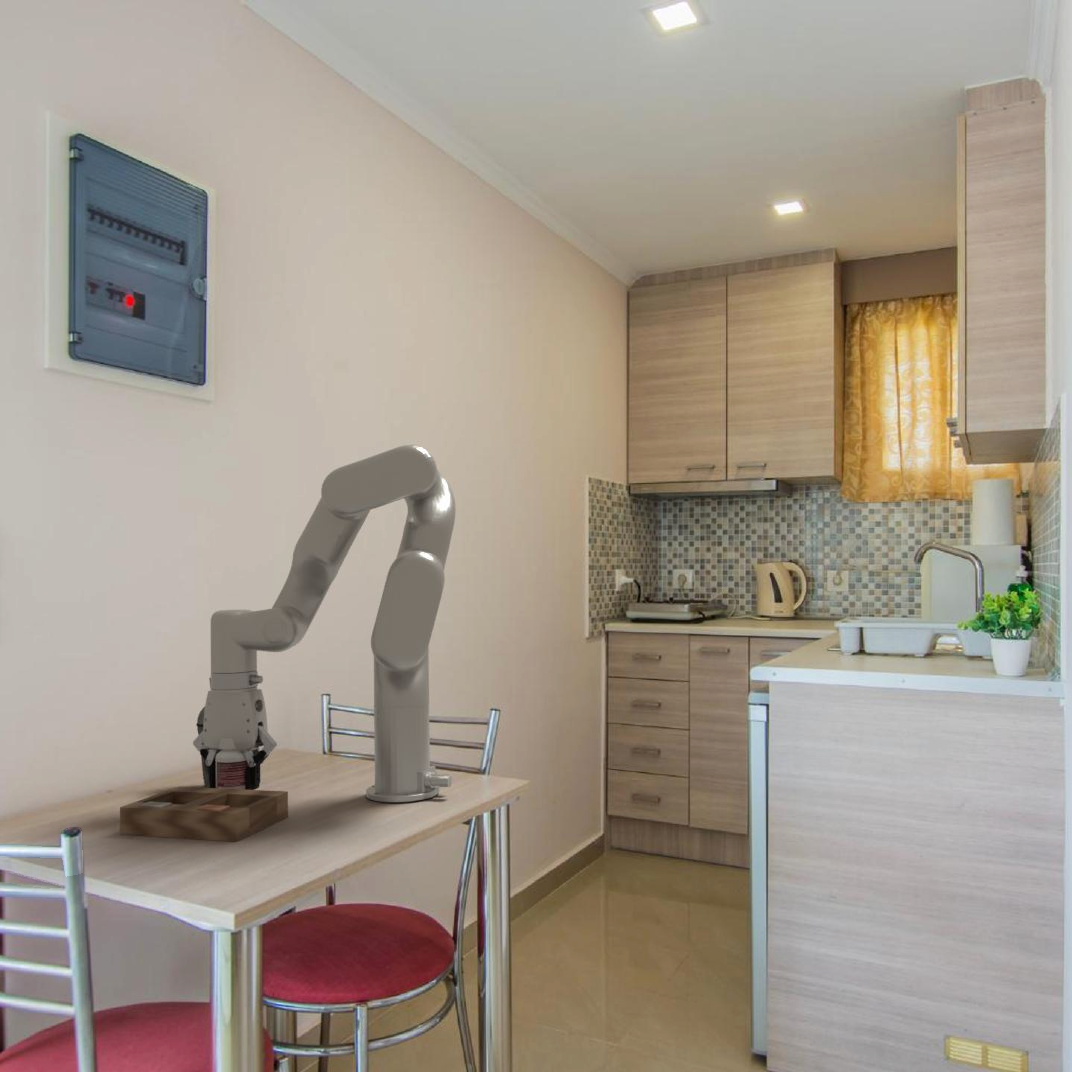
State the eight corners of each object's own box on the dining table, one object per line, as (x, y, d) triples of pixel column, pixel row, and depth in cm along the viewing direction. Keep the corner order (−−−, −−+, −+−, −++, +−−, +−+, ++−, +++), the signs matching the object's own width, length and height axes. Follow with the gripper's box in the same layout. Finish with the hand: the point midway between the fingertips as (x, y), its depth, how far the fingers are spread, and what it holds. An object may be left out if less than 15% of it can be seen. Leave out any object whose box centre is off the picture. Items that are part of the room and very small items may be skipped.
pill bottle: (258, 804, 156) (257, 736, 156) (220, 809, 152) (220, 740, 153) (247, 797, 161) (247, 731, 161) (211, 802, 157) (211, 735, 158)
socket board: (288, 817, 147) (287, 789, 147) (236, 841, 133) (236, 811, 133) (179, 811, 152) (179, 784, 152) (120, 834, 138) (120, 805, 139)
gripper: (290, 680, 159) (291, 785, 158) (203, 679, 163) (204, 782, 163) (266, 685, 152) (267, 796, 151) (176, 684, 156) (176, 791, 155)
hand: (234, 787), depth 157 cm, fingers closed on pill bottle, 6 cm apart
